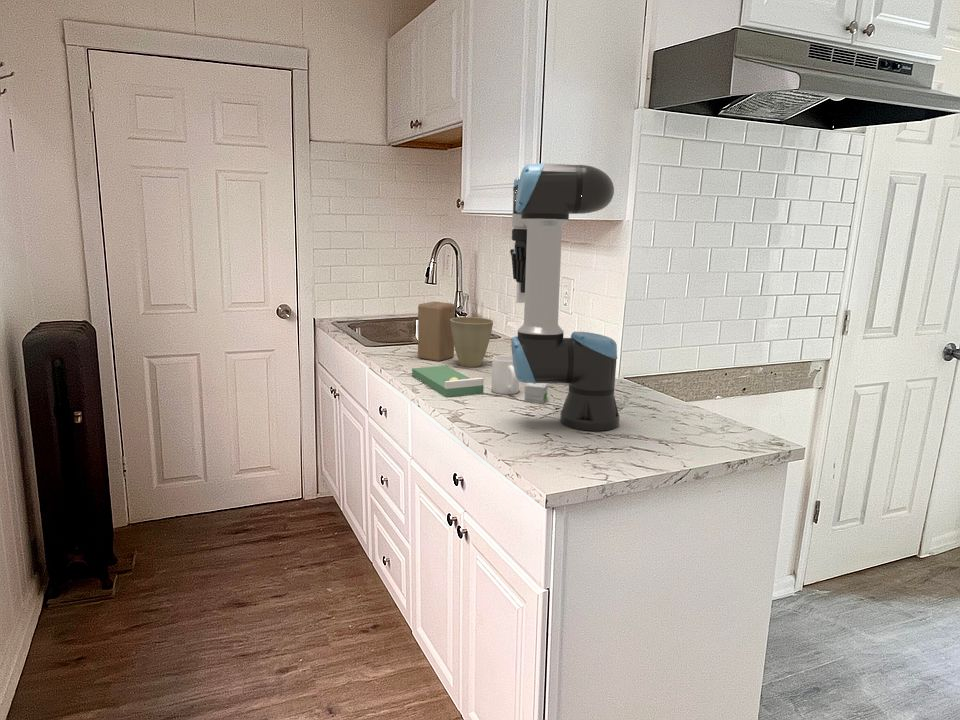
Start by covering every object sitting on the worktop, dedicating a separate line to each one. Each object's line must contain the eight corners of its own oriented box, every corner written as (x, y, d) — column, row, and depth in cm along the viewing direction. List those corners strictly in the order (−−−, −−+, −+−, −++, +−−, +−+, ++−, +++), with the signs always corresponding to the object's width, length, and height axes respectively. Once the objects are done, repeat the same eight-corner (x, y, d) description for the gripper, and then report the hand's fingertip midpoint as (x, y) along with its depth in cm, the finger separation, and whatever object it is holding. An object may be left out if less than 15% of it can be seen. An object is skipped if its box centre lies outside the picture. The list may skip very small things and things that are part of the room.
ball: (460, 390, 211) (462, 382, 209) (449, 392, 210) (452, 383, 208) (456, 383, 214) (458, 374, 212) (445, 384, 212) (447, 375, 210)
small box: (543, 404, 198) (544, 387, 197) (523, 401, 199) (524, 385, 198) (547, 398, 203) (548, 382, 202) (528, 397, 205) (529, 380, 204)
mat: (483, 393, 207) (483, 378, 206) (446, 397, 202) (446, 382, 201) (445, 372, 231) (446, 359, 230) (412, 375, 226) (412, 362, 225)
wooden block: (455, 357, 256) (456, 303, 251) (439, 362, 247) (439, 306, 243) (433, 353, 261) (433, 300, 257) (416, 358, 253) (417, 303, 248)
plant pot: (468, 371, 234) (469, 325, 230) (441, 363, 245) (441, 319, 241) (500, 366, 243) (502, 321, 240) (473, 358, 254) (474, 315, 251)
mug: (527, 397, 204) (528, 363, 202) (500, 398, 201) (501, 364, 199) (513, 387, 215) (515, 354, 213) (488, 388, 213) (489, 355, 210)
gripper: (544, 229, 216) (541, 304, 221) (524, 227, 227) (521, 299, 232) (523, 228, 212) (521, 305, 217) (503, 227, 224) (501, 300, 229)
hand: (521, 302), depth 225 cm, fingers closed
